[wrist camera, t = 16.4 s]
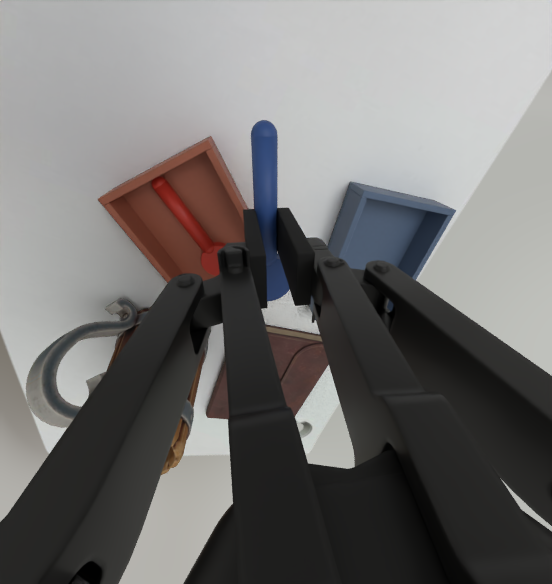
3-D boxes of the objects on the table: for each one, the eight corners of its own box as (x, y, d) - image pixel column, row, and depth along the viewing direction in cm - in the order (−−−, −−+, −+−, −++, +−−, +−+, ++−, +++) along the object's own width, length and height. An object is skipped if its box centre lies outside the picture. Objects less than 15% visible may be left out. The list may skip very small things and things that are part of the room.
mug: (224, 342, 37) (220, 459, 25) (162, 373, 39) (130, 496, 26) (140, 255, 28) (70, 367, 16) (66, 300, 30) (-49, 431, 18)
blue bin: (350, 181, 27) (364, 190, 24) (434, 200, 29) (456, 210, 26) (307, 302, 35) (314, 320, 32) (376, 309, 37) (388, 326, 34)
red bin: (112, 188, 25) (97, 199, 22) (211, 135, 23) (208, 139, 20) (204, 305, 33) (201, 323, 30) (279, 270, 32) (284, 287, 29)
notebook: (206, 408, 45) (205, 419, 43) (238, 319, 35) (238, 329, 33) (289, 415, 49) (291, 425, 48) (337, 337, 39) (342, 347, 38)
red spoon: (140, 186, 24) (135, 190, 23) (172, 164, 24) (169, 167, 22) (214, 276, 30) (213, 283, 29) (241, 261, 30) (242, 268, 29)
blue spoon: (229, 120, 14) (228, 120, 13) (295, 119, 15) (300, 120, 14) (243, 295, 21) (243, 306, 19) (290, 292, 21) (293, 303, 20)
